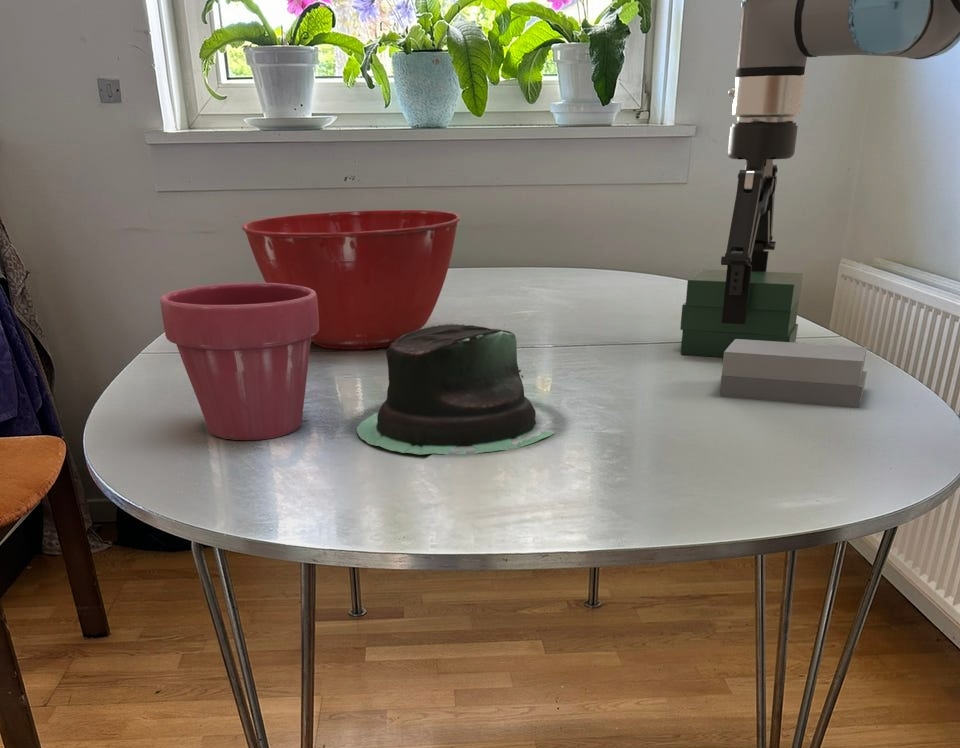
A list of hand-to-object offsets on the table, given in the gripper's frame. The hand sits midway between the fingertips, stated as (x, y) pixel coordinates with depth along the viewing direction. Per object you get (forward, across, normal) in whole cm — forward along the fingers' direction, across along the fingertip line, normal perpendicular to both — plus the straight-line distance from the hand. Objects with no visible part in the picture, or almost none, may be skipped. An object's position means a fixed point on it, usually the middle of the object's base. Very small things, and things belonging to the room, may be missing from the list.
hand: (742, 313), depth 119 cm
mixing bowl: (+5, +9, -50) cm, 51 cm away
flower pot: (+5, +50, -39) cm, 64 cm away
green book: (-1, 0, 0) cm, 1 cm away
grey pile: (+5, +21, +9) cm, 23 cm away
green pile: (+5, 0, 0) cm, 5 cm away
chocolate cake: (+5, +43, -20) cm, 48 cm away
